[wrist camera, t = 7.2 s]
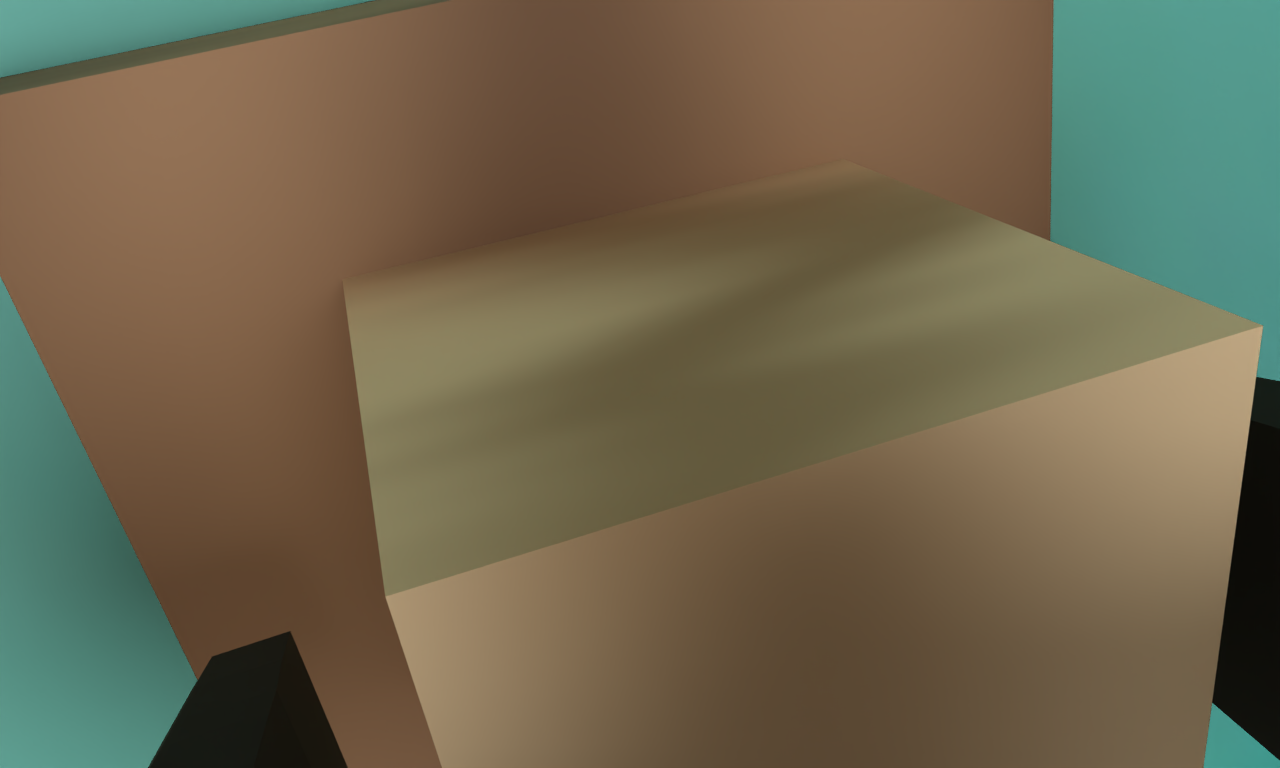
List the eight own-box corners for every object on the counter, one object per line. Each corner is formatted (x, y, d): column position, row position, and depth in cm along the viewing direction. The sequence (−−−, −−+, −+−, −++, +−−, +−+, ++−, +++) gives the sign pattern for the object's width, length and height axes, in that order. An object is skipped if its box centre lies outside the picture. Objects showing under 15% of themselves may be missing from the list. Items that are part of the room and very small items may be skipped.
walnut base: (938, -116, 11) (1055, -128, 10) (961, 585, 16) (1044, 665, 14) (-10, 79, 9) (-80, 111, 8) (323, 818, 14) (327, 945, 12)
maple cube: (843, 159, 10) (1262, 325, 6) (868, 560, 12) (1183, 903, 8) (341, 280, 9) (385, 595, 5) (468, 695, 11) (578, 1175, 7)
